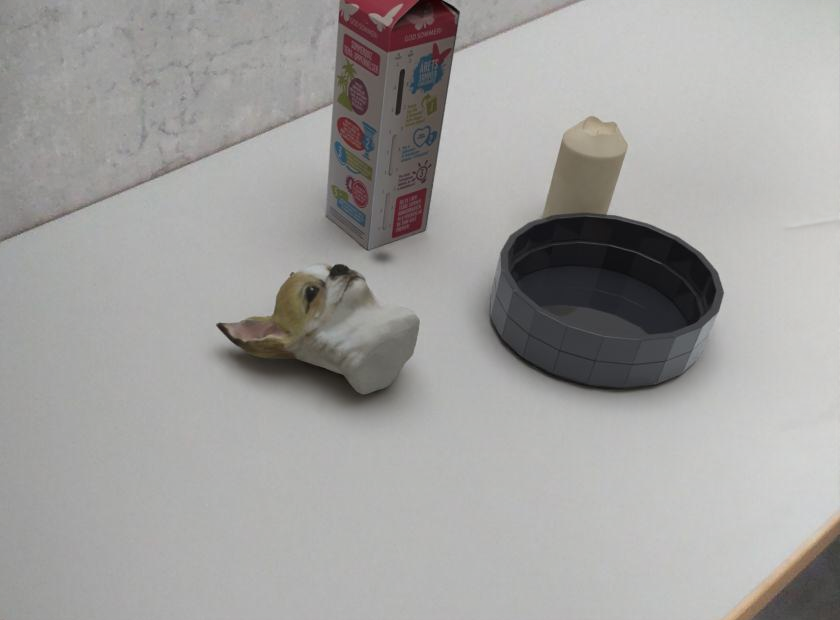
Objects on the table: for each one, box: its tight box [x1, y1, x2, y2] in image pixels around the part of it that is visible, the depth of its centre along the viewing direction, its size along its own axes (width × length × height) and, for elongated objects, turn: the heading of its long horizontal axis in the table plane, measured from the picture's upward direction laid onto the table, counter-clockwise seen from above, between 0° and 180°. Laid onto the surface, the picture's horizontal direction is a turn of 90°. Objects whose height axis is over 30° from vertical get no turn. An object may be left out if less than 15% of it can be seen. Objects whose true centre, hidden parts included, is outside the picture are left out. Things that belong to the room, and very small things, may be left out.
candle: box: [541, 115, 629, 219], centre depth 84 cm, size 6×6×10 cm
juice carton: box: [325, 0, 461, 251], centre depth 79 cm, size 7×7×22 cm
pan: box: [489, 213, 725, 389], centre depth 76 cm, size 17×17×5 cm
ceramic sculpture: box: [215, 263, 421, 396], centre depth 71 cm, size 11×9×15 cm
